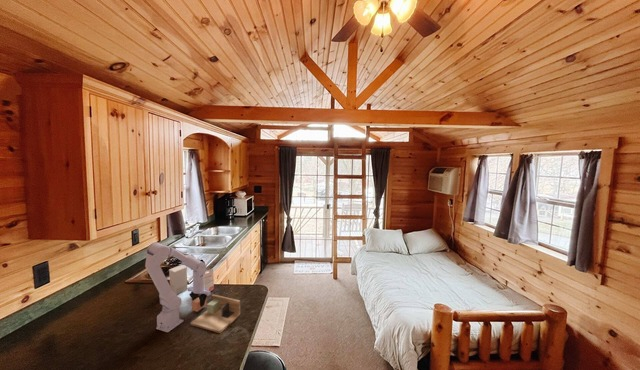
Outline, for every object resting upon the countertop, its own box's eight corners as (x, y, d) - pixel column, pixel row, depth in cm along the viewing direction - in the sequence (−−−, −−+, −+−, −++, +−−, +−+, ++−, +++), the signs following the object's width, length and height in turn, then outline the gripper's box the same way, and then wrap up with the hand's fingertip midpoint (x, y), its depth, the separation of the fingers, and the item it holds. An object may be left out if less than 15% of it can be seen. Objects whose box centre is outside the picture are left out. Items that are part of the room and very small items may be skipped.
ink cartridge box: (210, 287, 164) (209, 266, 163) (214, 289, 161) (213, 268, 160) (197, 292, 158) (196, 270, 156) (201, 295, 155) (200, 272, 153)
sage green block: (213, 314, 134) (212, 305, 133) (207, 312, 135) (207, 304, 134) (219, 308, 139) (219, 300, 138) (214, 307, 140) (214, 299, 139)
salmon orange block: (197, 311, 136) (197, 303, 135) (191, 310, 137) (191, 301, 136) (206, 304, 142) (206, 296, 142) (201, 303, 144) (201, 295, 143)
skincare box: (182, 287, 164) (181, 264, 163) (188, 289, 161) (187, 266, 159) (169, 292, 157) (168, 269, 155) (175, 295, 153) (174, 271, 152)
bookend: (227, 318, 131) (227, 309, 130) (221, 316, 132) (221, 307, 131) (234, 312, 136) (234, 303, 135) (227, 310, 137) (227, 302, 136)
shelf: (220, 333, 121) (219, 317, 120) (190, 324, 127) (190, 309, 126) (240, 314, 136) (240, 300, 135) (213, 307, 142) (212, 294, 141)
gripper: (214, 281, 140) (214, 303, 141) (194, 276, 144) (194, 298, 145) (205, 286, 133) (205, 310, 134) (184, 282, 138) (184, 305, 139)
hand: (199, 305), depth 139 cm, fingers closed on salmon orange block, 4 cm apart
